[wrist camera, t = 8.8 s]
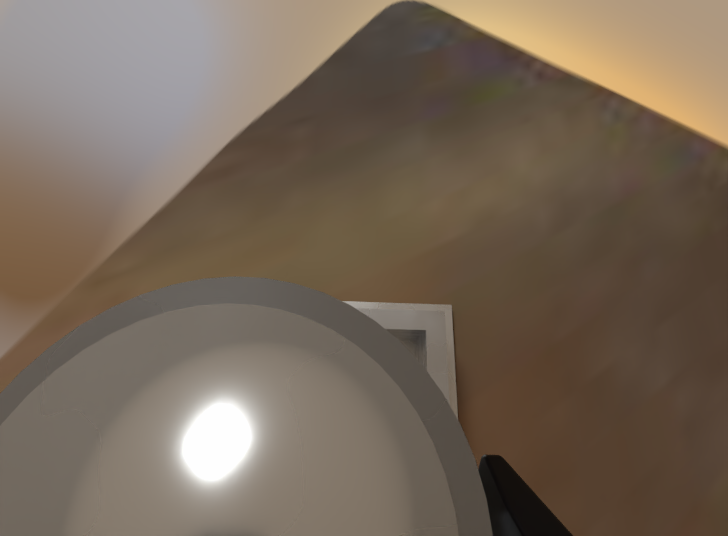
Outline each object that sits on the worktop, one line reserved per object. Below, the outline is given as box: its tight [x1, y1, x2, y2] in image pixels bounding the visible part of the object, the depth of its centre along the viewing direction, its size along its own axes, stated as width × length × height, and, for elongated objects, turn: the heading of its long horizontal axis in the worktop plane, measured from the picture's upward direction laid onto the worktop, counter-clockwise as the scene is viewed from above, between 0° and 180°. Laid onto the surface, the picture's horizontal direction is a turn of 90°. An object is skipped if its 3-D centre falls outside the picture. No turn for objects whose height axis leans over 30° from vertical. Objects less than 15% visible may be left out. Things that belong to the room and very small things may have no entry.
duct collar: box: [342, 301, 458, 419], centre depth 15 cm, size 12×12×3 cm
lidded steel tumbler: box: [0, 277, 493, 536], centre depth 10 cm, size 6×6×13 cm
